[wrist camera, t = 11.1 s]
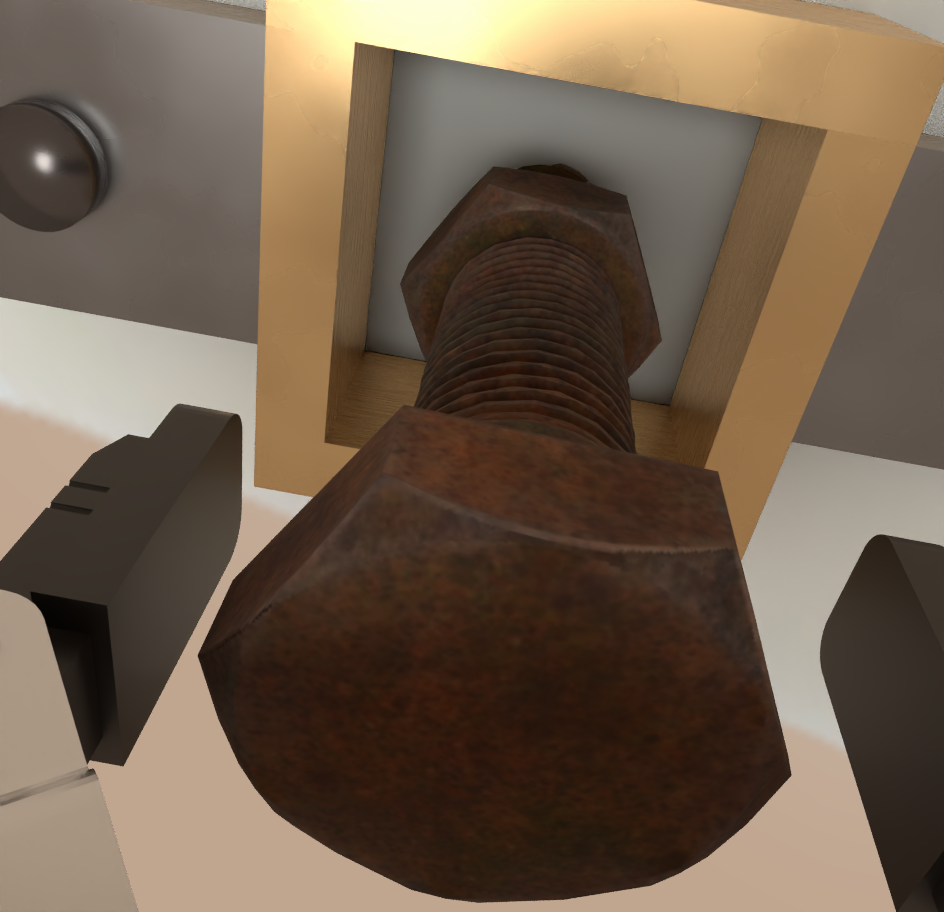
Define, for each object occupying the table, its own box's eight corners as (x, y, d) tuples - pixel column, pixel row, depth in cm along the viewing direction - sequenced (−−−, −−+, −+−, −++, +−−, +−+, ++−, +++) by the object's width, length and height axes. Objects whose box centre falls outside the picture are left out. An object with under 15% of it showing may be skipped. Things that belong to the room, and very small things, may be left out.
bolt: (673, 306, 21) (823, 902, 9) (477, 360, 23) (365, 948, 10) (613, 59, 19) (708, 421, 6) (393, 136, 20) (95, 568, 7)
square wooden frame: (874, 14, 18) (956, 49, 14) (709, 464, 24) (735, 573, 20) (332, -87, 18) (268, -80, 14) (304, 390, 24) (254, 486, 20)
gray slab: (349, 26, 19) (323, 44, 17) (327, 326, 23) (304, 369, 21) (-26, -43, 19) (-97, -34, 17) (16, 269, 23) (-38, 307, 21)
